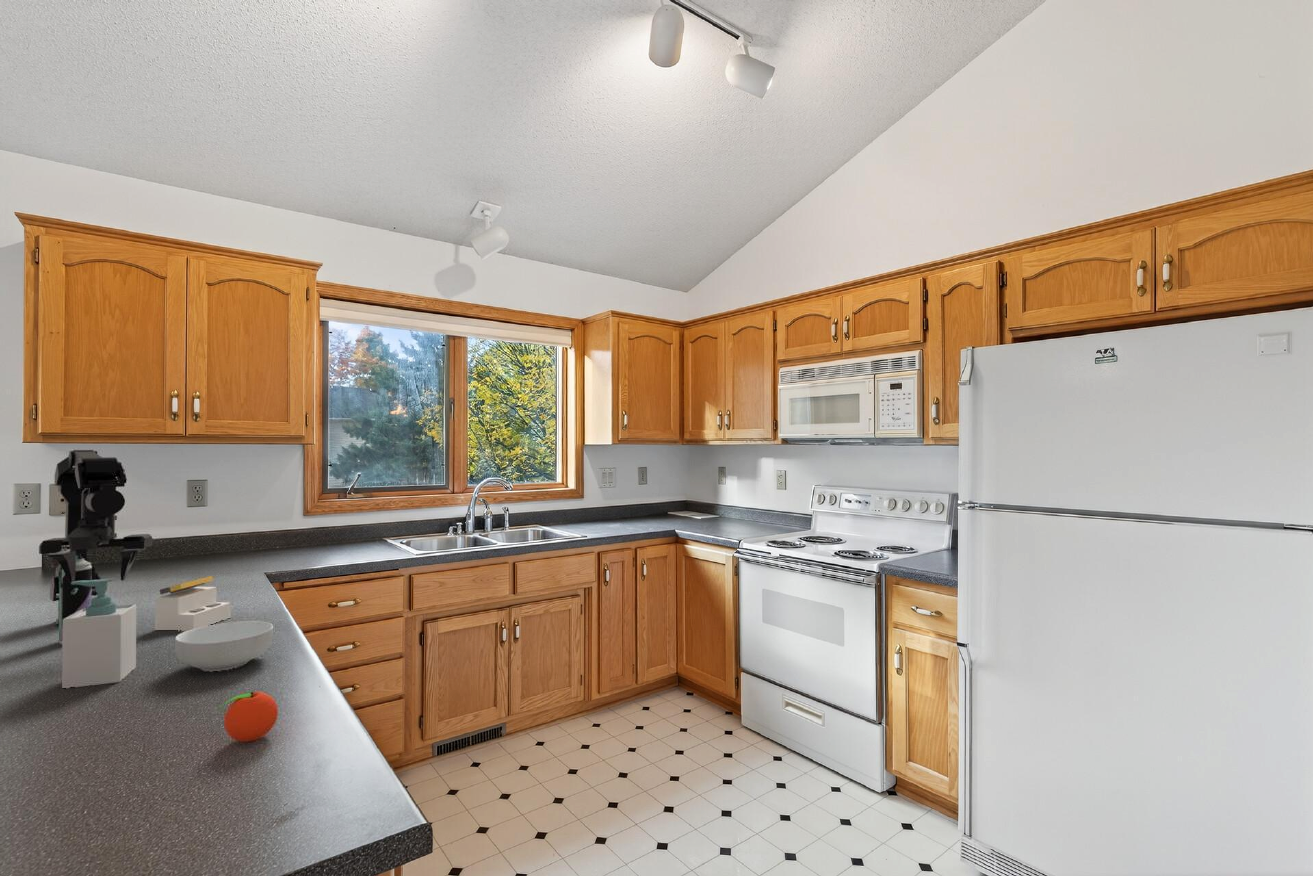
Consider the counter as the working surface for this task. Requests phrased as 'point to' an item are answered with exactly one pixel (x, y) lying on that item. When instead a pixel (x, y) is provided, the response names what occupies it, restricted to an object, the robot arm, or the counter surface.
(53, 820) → the counter surface
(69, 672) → the soap bottle
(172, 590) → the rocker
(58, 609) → the robot arm
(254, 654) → the cereal bowl
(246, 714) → the clementine
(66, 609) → the spray can
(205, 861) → the counter surface
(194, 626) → the stepped slotted block
